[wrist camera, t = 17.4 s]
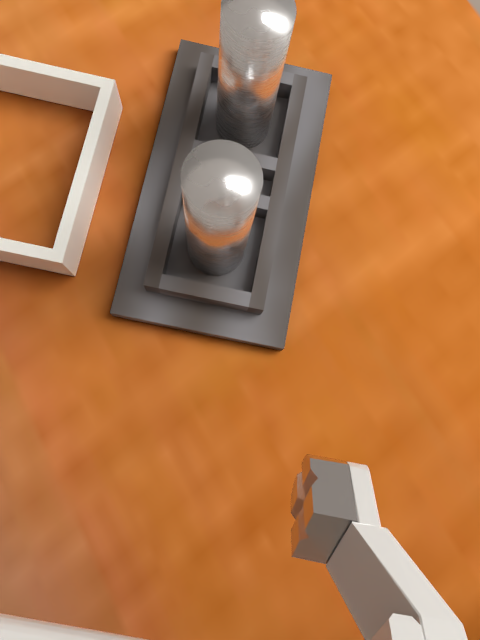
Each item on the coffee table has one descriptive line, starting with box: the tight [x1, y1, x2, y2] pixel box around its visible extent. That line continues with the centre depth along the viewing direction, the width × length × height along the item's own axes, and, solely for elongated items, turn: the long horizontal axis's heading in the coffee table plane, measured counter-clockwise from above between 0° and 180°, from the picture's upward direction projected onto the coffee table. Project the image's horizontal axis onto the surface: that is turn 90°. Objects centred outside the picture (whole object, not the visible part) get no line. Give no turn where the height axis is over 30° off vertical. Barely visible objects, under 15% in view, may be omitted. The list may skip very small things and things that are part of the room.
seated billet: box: [216, 0, 296, 149], centre depth 28 cm, size 4×4×10 cm
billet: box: [181, 140, 263, 276], centre depth 26 cm, size 4×4×10 cm
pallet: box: [110, 39, 332, 350], centre depth 32 cm, size 12×22×2 cm, turn 169°
